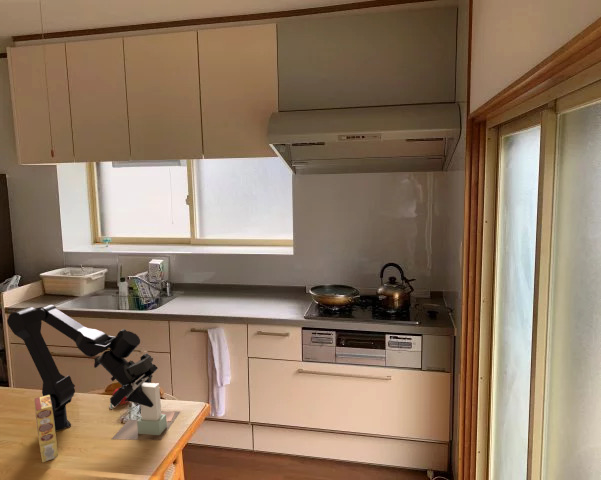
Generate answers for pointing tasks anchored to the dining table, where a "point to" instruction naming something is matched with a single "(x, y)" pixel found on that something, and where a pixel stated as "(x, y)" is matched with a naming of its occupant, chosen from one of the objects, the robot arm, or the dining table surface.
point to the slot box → (152, 426)
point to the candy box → (46, 428)
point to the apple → (120, 402)
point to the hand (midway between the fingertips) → (154, 403)
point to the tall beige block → (154, 395)
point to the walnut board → (131, 433)
